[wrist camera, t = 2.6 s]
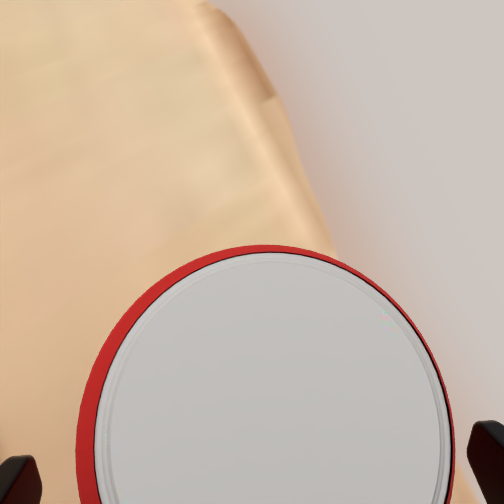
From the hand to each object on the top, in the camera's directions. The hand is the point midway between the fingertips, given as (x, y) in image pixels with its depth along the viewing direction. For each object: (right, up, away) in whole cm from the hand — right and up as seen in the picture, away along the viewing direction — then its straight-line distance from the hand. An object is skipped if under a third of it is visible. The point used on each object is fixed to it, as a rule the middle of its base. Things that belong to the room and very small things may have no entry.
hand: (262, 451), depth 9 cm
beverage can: (-1, -3, +8) cm, 9 cm away
